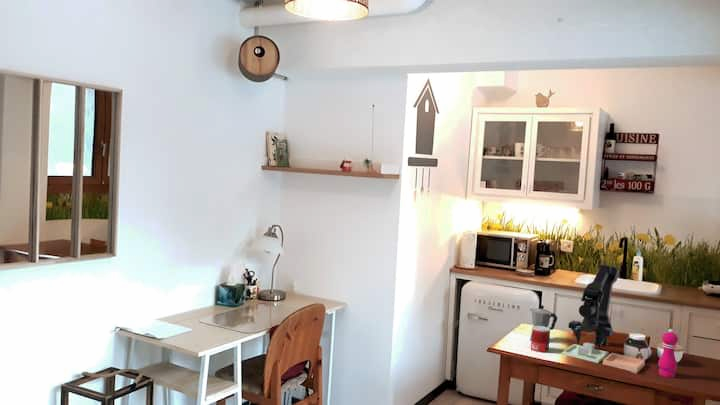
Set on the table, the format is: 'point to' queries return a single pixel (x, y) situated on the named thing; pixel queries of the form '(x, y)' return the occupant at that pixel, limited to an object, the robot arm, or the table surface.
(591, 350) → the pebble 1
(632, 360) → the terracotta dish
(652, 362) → the table surface
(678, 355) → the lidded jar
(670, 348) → the pepper mill
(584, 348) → the grey cube
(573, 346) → the green tray
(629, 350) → the spread jar
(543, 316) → the coffeepot
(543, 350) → the canned food
